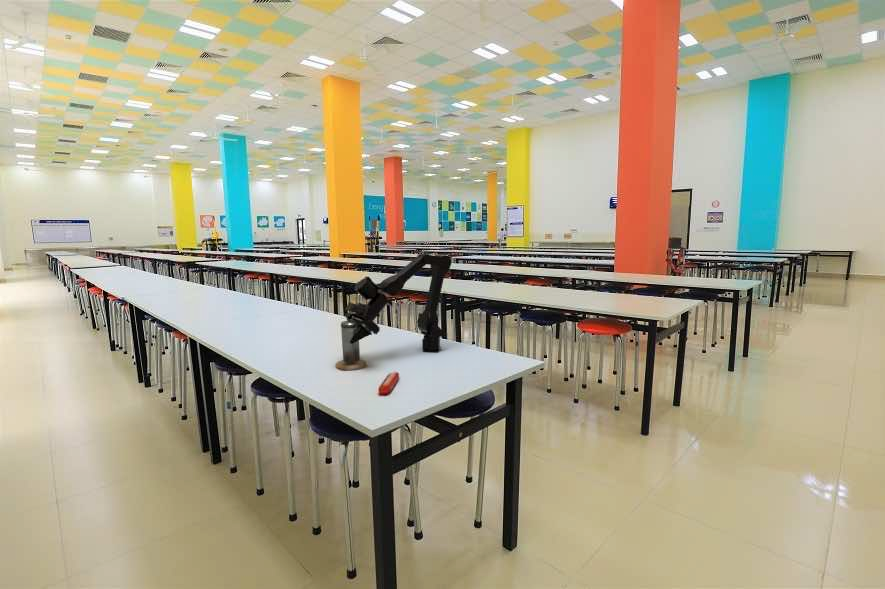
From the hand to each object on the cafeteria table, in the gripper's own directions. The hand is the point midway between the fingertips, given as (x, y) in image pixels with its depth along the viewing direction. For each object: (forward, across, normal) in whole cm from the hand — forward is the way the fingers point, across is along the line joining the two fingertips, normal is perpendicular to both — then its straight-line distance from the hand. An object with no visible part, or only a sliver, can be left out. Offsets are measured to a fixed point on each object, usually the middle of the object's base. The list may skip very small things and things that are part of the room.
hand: (347, 341), depth 153 cm
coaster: (+6, 0, +8) cm, 9 cm away
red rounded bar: (+5, +27, +9) cm, 28 cm away
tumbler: (+4, 0, +6) cm, 7 cm away
